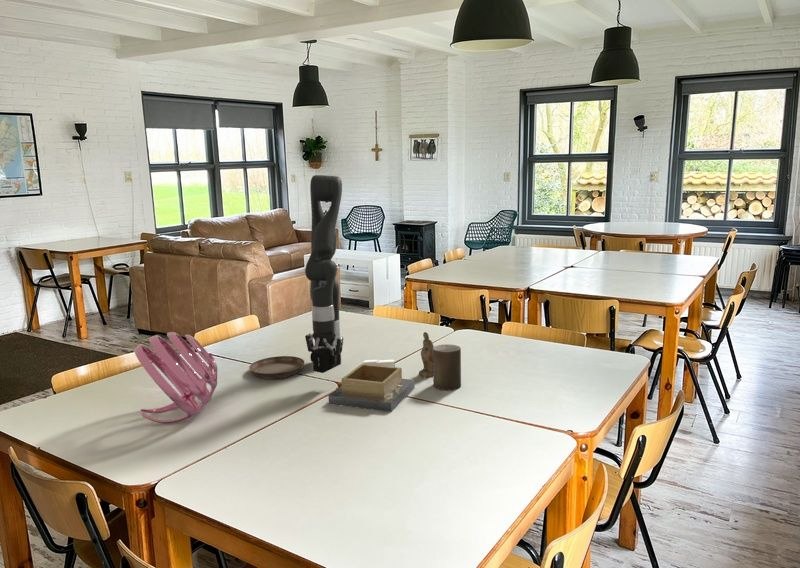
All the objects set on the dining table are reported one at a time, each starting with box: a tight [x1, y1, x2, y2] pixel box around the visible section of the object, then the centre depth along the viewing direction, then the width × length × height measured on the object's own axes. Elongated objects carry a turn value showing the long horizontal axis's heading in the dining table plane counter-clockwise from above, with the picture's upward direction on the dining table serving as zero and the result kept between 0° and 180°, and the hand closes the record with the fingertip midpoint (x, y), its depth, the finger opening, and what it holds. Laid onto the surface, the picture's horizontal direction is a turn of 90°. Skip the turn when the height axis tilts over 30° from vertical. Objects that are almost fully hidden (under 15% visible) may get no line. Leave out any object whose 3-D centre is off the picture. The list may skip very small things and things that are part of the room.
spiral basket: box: [133, 331, 218, 424], centre depth 198 cm, size 28×28×27 cm
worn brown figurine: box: [418, 331, 435, 378], centre depth 233 cm, size 12×6×18 cm, turn 131°
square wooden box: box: [327, 363, 416, 413], centre depth 212 cm, size 22×22×8 cm
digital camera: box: [309, 345, 342, 374], centre depth 219 cm, size 10×5×7 cm, turn 149°
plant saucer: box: [248, 355, 305, 380], centre depth 240 cm, size 21×21×3 cm
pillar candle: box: [432, 343, 462, 391], centre depth 219 cm, size 10×10×15 cm
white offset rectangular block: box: [362, 359, 396, 367], centre depth 235 cm, size 15×11×6 cm
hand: (325, 364), depth 220 cm, fingers closed on digital camera, 5 cm apart
